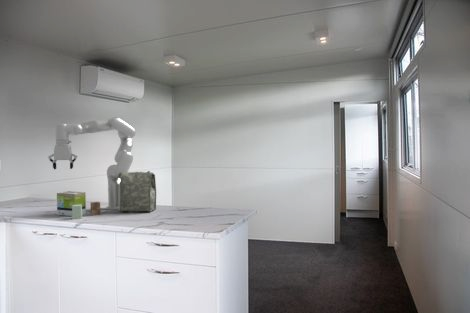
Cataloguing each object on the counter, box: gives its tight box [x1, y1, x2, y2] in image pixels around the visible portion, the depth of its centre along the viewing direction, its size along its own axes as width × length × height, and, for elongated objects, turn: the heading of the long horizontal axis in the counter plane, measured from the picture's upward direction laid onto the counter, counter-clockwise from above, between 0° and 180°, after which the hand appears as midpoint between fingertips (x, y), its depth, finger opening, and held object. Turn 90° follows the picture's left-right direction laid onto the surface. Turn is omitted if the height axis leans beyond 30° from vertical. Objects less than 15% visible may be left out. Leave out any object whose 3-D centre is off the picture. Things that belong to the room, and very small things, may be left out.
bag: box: [118, 170, 157, 212], centre depth 235 cm, size 22×16×27 cm
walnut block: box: [90, 201, 101, 216], centre depth 222 cm, size 5×5×8 cm
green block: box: [71, 205, 83, 220], centre depth 211 cm, size 5×5×8 cm
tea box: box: [56, 190, 87, 217], centre depth 223 cm, size 15×10×15 cm, turn 71°
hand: (63, 169), depth 221 cm, fingers open, 9 cm apart
